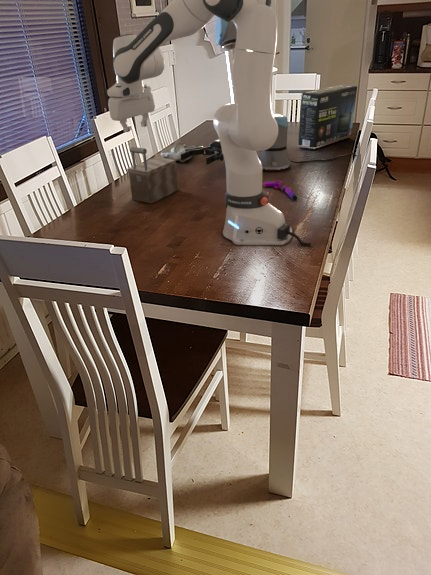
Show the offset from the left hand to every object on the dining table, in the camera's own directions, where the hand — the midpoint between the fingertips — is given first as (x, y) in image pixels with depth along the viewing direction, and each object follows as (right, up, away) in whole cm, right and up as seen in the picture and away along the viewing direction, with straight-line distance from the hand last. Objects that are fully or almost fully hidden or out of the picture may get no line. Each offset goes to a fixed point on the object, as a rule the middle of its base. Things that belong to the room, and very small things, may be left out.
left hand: (135, 129), depth 166 cm
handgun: (+55, -19, +16) cm, 60 cm away
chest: (+5, -20, +19) cm, 28 cm away
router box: (+87, +20, +79) cm, 120 cm away
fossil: (+10, +7, +64) cm, 65 cm away
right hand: (+19, -1, +35) cm, 40 cm away
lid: (+4, -11, +13) cm, 17 cm away
